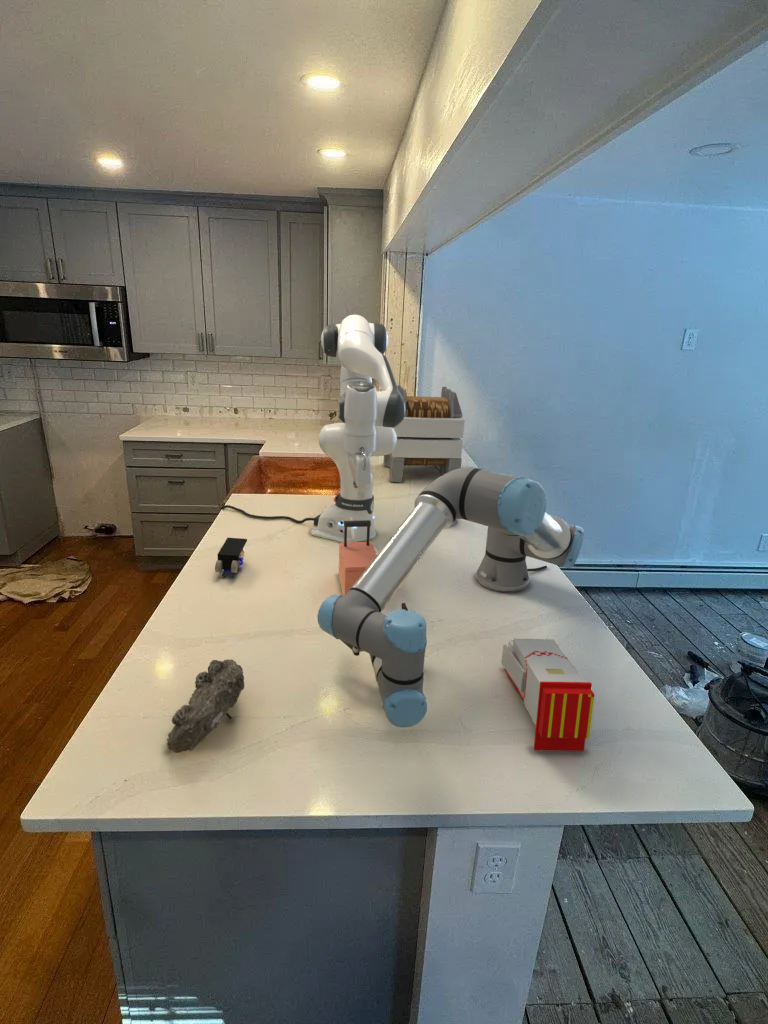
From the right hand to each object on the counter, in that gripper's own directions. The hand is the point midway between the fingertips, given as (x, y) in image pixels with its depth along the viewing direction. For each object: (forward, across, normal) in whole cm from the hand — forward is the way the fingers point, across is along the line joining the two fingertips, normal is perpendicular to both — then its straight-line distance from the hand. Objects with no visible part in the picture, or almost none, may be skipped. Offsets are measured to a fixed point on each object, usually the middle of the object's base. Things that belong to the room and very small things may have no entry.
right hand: (374, 609), depth 132 cm
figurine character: (+42, -36, -9) cm, 56 cm away
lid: (+28, 0, 0) cm, 28 cm away
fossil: (-22, -34, -9) cm, 42 cm away
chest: (+28, 0, -9) cm, 29 cm away
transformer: (+143, +45, -8) cm, 150 cm away
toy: (-26, +30, -9) cm, 41 cm away
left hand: (+34, 0, +18) cm, 38 cm away
